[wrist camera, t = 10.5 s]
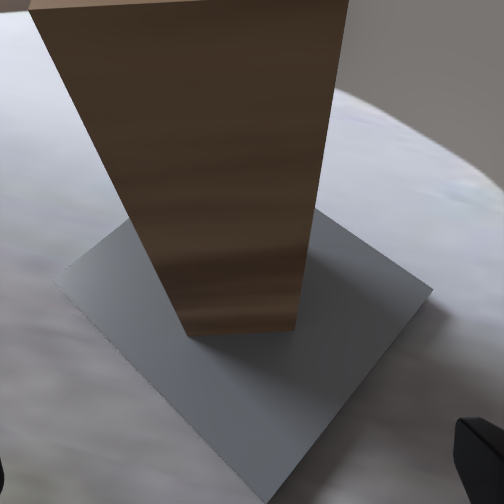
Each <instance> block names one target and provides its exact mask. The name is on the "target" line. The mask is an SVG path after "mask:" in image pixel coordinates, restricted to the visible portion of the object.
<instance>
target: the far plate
mask: <svg viewBox="0 0 504 504" xmlns="http://www.w3.org/2000/svg"><path fill="white" fill-rule="evenodd" d="M52 281H53V282H54V283H55V284H56V285H57V286H58V287H59V288H60V289H61V290H62V292H63V293H64V294H65V295H66V296H67V297H68V298H69V299H70V300H71V301H72V302H73V303H74V304H75V305H76V306H77V307H78V308H79V309H80V310H81V311H82V312H83V313H84V315H85V316H86V317H87V318H88V319H89V320H90V321H91V322H92V323H93V324H94V325H95V326H96V327H97V328H98V329H99V330H100V331H101V332H102V333H103V334H104V335H105V336H106V337H107V339H108V340H109V341H110V342H111V343H112V344H113V345H114V346H115V347H116V348H117V349H118V350H119V351H120V352H121V353H122V354H123V355H124V356H125V357H126V358H127V359H128V360H129V362H130V363H131V364H132V365H133V366H134V367H135V368H136V369H137V370H138V371H139V372H140V373H141V374H142V375H143V376H144V377H145V378H146V379H147V380H148V381H149V382H150V383H151V385H152V386H153V387H154V388H155V389H156V390H157V391H158V392H159V393H160V394H161V395H162V396H163V397H164V398H165V399H166V400H167V401H168V402H169V403H170V404H171V405H172V406H173V407H174V409H175V410H176V411H177V412H178V413H179V414H180V415H181V416H182V417H183V418H184V419H185V420H186V421H187V422H188V423H189V424H190V425H191V426H192V427H193V428H194V429H195V430H196V432H197V433H198V434H199V435H200V436H201V437H202V438H203V439H204V440H205V441H206V442H207V443H208V444H209V445H210V446H211V447H212V448H213V449H214V450H215V451H216V452H217V453H218V455H219V456H220V457H221V458H222V459H223V460H224V461H225V462H226V463H227V464H228V465H229V466H230V467H231V468H232V469H233V470H234V471H235V472H236V473H237V474H238V475H239V476H240V477H241V479H242V480H243V481H244V482H245V483H246V484H247V485H248V486H249V487H250V488H251V489H252V490H253V491H254V492H255V493H256V494H257V495H258V496H259V497H260V498H261V499H262V500H263V502H264V503H265V504H267V503H268V501H269V500H270V499H271V498H272V496H273V495H274V494H275V492H276V491H277V490H278V489H279V487H280V486H281V485H282V483H283V482H284V481H285V480H286V478H287V477H288V476H289V474H290V473H291V472H292V471H293V469H294V468H295V467H296V465H297V464H298V463H299V462H300V460H301V459H302V458H303V457H304V455H305V454H306V453H307V451H308V450H309V449H310V448H311V446H312V445H313V444H314V442H315V441H316V440H317V439H318V437H319V436H320V435H321V433H322V432H323V431H324V430H325V428H326V427H327V426H328V424H329V423H330V422H331V421H332V419H333V418H334V417H335V415H336V414H337V413H338V412H339V410H340V409H341V408H342V406H343V405H344V404H345V403H346V401H347V400H348V399H349V397H350V396H351V395H352V394H353V392H354V391H355V390H356V389H357V387H358V386H359V385H360V383H361V382H362V381H363V380H364V378H365V377H366V376H367V374H368V373H369V372H370V371H371V369H372V368H373V367H374V365H375V364H376V363H377V362H378V360H379V359H380V358H381V356H382V355H383V354H384V353H385V351H386V350H387V349H388V347H389V346H390V345H391V344H392V342H393V341H394V340H395V338H396V337H397V336H398V335H399V333H400V332H401V331H402V329H403V328H404V327H405V326H406V324H407V323H408V322H409V320H410V319H411V318H412V317H413V315H414V314H415V313H416V312H417V310H418V309H419V308H420V306H421V305H422V304H423V303H424V301H425V300H426V299H427V297H428V296H429V295H430V294H431V292H432V291H433V290H434V289H432V288H431V287H429V286H428V285H426V284H425V283H424V282H422V281H421V280H419V279H418V278H416V277H415V276H413V275H412V274H410V273H409V272H407V271H406V270H405V269H403V268H402V267H400V266H399V265H397V264H396V263H394V262H393V261H391V260H390V259H389V258H387V257H386V256H384V255H383V254H381V253H380V252H378V251H377V250H375V249H374V248H372V247H371V246H370V245H368V244H367V243H365V242H364V241H362V240H361V239H359V238H358V237H356V236H355V235H354V234H352V233H351V232H349V231H348V230H346V229H345V228H343V227H342V226H340V225H339V224H338V223H336V222H335V221H333V220H332V219H330V218H329V217H327V216H326V215H324V214H323V213H321V212H320V211H319V210H317V209H316V208H315V209H314V215H313V221H312V227H311V234H310V240H309V246H308V252H307V258H306V264H305V270H304V276H303V282H302V288H301V294H300V301H299V307H298V313H297V319H296V325H295V331H285V332H265V333H245V334H225V335H205V336H187V335H186V333H185V331H184V329H183V326H182V324H181V322H180V320H179V318H178V316H177V314H176V312H175V310H174V308H173V306H172V304H171V302H170V300H169V298H168V296H167V294H166V292H165V290H164V288H163V286H162V283H161V281H160V279H159V277H158V275H157V273H156V271H155V269H154V267H153V265H152V263H151V261H150V259H149V257H148V255H147V253H146V251H145V249H144V247H143V245H142V242H141V240H140V238H139V236H138V234H137V232H136V230H135V228H134V226H133V224H132V222H131V220H130V218H129V219H128V220H126V221H125V222H124V223H123V224H122V225H120V226H119V227H118V228H117V229H115V230H114V231H113V232H112V233H110V234H109V235H108V236H107V237H105V238H104V239H103V240H102V241H100V242H99V243H98V244H97V245H95V246H94V247H93V248H92V249H90V250H89V251H88V252H87V253H86V254H84V255H83V256H82V257H81V258H79V259H78V260H77V261H76V262H74V263H73V264H72V265H71V266H69V267H68V268H67V269H66V270H64V271H63V272H62V273H61V274H59V275H58V276H57V277H56V278H54V279H53V280H52Z"/></svg>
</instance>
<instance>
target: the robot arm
mask: <svg viewBox="0 0 504 504" xmlns="http://www.w3.org/2000/svg"><path fill="white" fill-rule="evenodd" d="M453 457H454V463H455V466H456V469H457V471H458V474H459V476H460V478H461V481H462V483H463V486H464V488H465V490H466V493H467V495H468V498H469V500H470V502H471V504H504V430H503V429H501V428H499V427H497V426H495V425H494V424H492V423H490V422H488V421H486V420H484V419H483V418H480V417H465V418H459V419H458V420H457V422H456V426H455V438H454V450H453ZM3 485H4V472H3V467H2V463H1V459H0V494H1V492H2V489H3Z"/></svg>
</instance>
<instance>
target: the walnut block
mask: <svg viewBox="0 0 504 504" xmlns="http://www.w3.org/2000/svg"><path fill="white" fill-rule="evenodd" d="M348 2H349V0H31V3H30V5H29V8H28V11H29V13H30V15H31V17H32V19H33V21H34V23H35V25H36V27H37V29H38V31H39V33H40V35H41V38H42V40H43V42H44V44H45V46H46V48H47V50H48V52H49V54H50V56H51V58H52V60H53V62H54V64H55V66H56V68H57V70H58V72H59V74H60V76H61V79H62V81H63V83H64V85H65V87H66V89H67V91H68V93H69V95H70V97H71V99H72V101H73V103H74V105H75V107H76V109H77V111H78V113H79V115H80V117H81V120H82V122H83V124H84V126H85V128H86V130H87V132H88V134H89V136H90V138H91V140H92V142H93V144H94V146H95V148H96V150H97V152H98V154H99V156H100V158H101V160H102V163H103V165H104V167H105V169H106V171H107V173H108V175H109V177H110V179H111V181H112V183H113V185H114V187H115V189H116V191H117V193H118V195H119V197H120V199H121V201H122V204H123V206H124V208H125V210H126V212H127V214H128V216H129V218H130V220H131V222H132V224H133V226H134V228H135V230H136V232H137V234H138V236H139V238H140V240H141V242H142V245H143V247H144V249H145V251H146V253H147V255H148V257H149V259H150V261H151V263H152V265H153V267H154V269H155V271H156V273H157V275H158V277H159V279H160V281H161V283H162V286H163V288H164V290H165V292H166V294H167V296H168V298H169V300H170V302H171V304H172V306H173V308H174V310H175V312H176V314H177V316H178V318H179V320H180V322H181V324H182V326H183V329H184V331H185V333H186V335H187V336H205V335H225V334H245V333H265V332H285V331H295V325H296V319H297V313H298V307H299V301H300V294H301V288H302V282H303V276H304V270H305V264H306V258H307V252H308V246H309V240H310V234H311V227H312V221H313V215H314V209H315V203H316V197H317V191H318V185H319V179H320V173H321V167H322V161H323V154H324V148H325V142H326V136H327V130H328V124H329V118H330V112H331V106H332V100H333V94H334V88H335V81H336V75H337V69H338V63H339V57H340V51H341V45H342V39H343V33H344V27H345V20H346V15H347V8H348Z"/></svg>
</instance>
